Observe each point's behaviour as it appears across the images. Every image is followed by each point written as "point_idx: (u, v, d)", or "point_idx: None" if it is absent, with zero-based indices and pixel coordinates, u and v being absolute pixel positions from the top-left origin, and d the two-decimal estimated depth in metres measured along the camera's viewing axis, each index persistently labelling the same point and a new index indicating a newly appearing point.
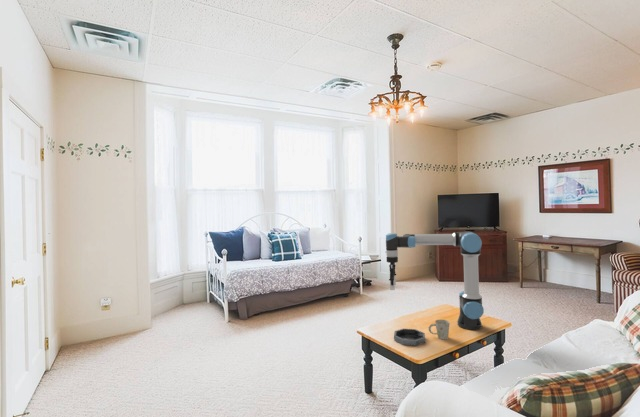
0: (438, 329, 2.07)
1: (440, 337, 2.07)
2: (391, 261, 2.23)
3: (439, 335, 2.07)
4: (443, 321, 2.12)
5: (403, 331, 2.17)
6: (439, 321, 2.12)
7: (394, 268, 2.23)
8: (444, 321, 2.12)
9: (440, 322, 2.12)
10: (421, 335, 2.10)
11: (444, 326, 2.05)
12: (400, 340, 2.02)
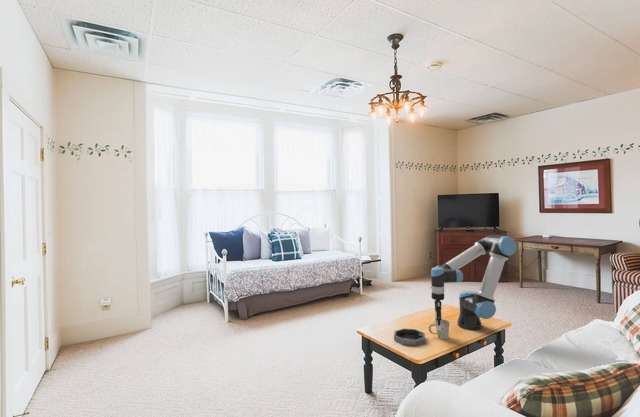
0: None
1: (440, 337, 2.07)
2: (437, 298, 2.05)
3: (439, 335, 2.07)
4: (443, 321, 2.12)
5: (403, 331, 2.17)
6: None
7: None
8: (444, 321, 2.12)
9: None
10: (421, 335, 2.10)
11: (444, 326, 2.05)
12: (400, 340, 2.02)
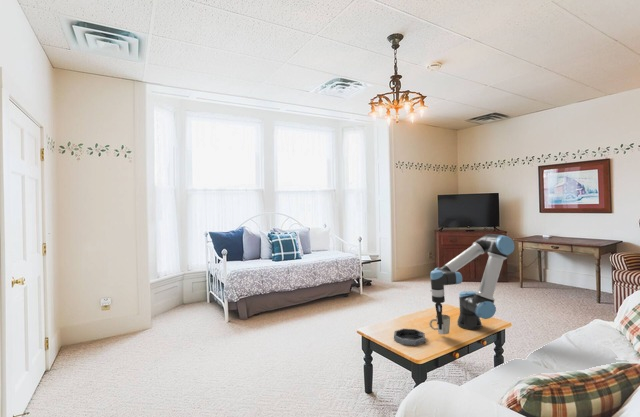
0: None
1: None
2: (438, 301, 2.06)
3: None
4: (444, 316, 2.12)
5: (403, 331, 2.17)
6: None
7: None
8: (445, 316, 2.12)
9: None
10: (421, 335, 2.10)
11: (445, 321, 2.05)
12: (400, 340, 2.02)
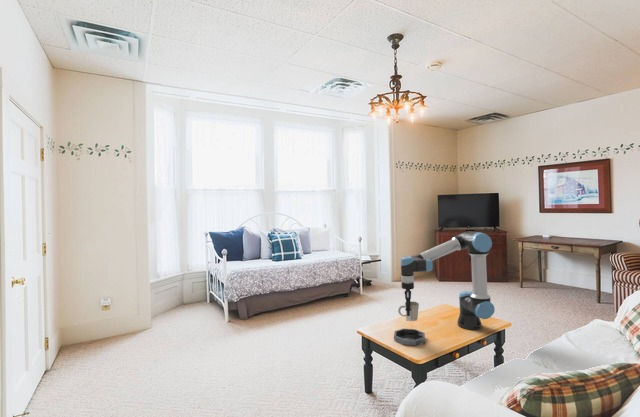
0: None
1: None
2: (407, 288, 2.04)
3: None
4: (413, 303, 2.11)
5: (403, 331, 2.17)
6: None
7: (410, 296, 2.05)
8: (414, 303, 2.11)
9: (410, 304, 2.11)
10: (421, 335, 2.10)
11: (413, 307, 2.04)
12: (400, 340, 2.02)
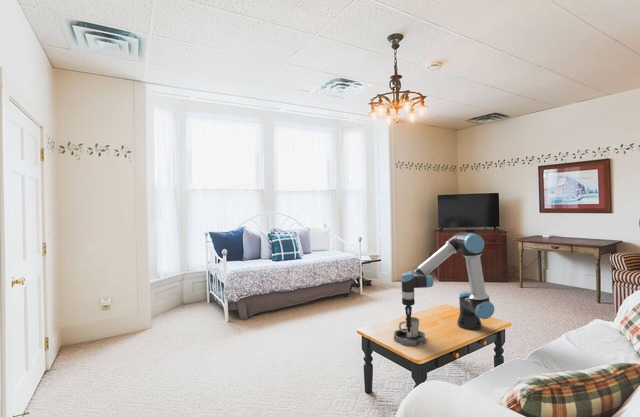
0: None
1: None
2: (407, 304, 2.05)
3: None
4: (413, 319, 2.11)
5: None
6: None
7: None
8: (414, 319, 2.11)
9: None
10: (421, 335, 2.10)
11: (413, 324, 2.04)
12: (400, 340, 2.02)
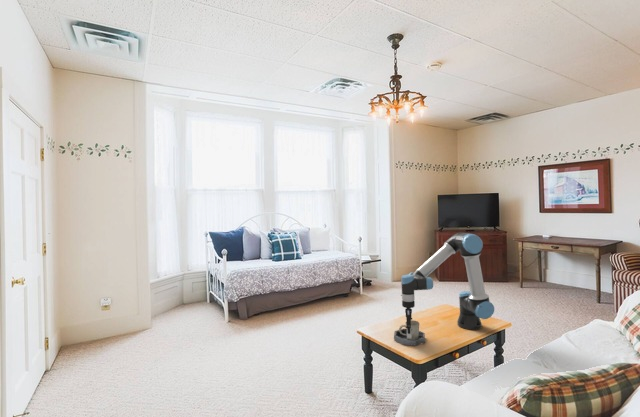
0: None
1: None
2: (407, 306, 2.05)
3: None
4: (414, 322, 2.11)
5: (403, 331, 2.17)
6: None
7: None
8: (415, 322, 2.10)
9: (411, 323, 2.11)
10: (421, 335, 2.10)
11: (414, 327, 2.04)
12: (400, 340, 2.02)
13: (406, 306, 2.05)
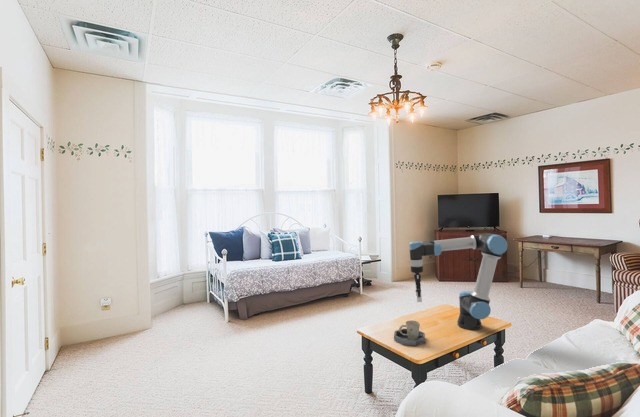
0: (408, 330, 2.06)
1: (410, 338, 2.06)
2: (416, 271, 2.11)
3: (409, 336, 2.06)
4: (414, 322, 2.11)
5: (403, 331, 2.17)
6: (410, 322, 2.11)
7: None
8: (415, 322, 2.11)
9: (411, 323, 2.11)
10: (421, 335, 2.10)
11: (414, 327, 2.04)
12: (400, 340, 2.02)
13: (415, 271, 2.12)
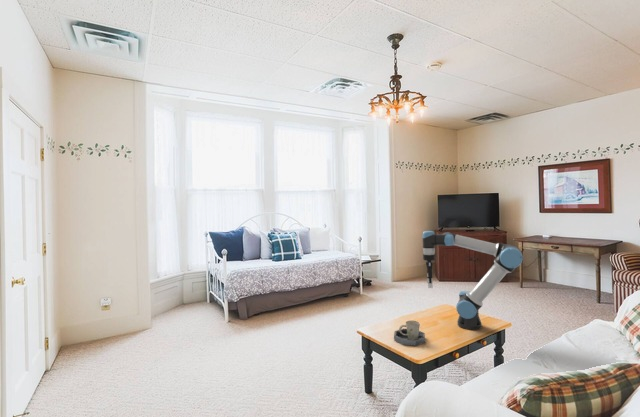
0: (408, 330, 2.06)
1: (410, 338, 2.06)
2: (428, 259, 2.22)
3: (409, 336, 2.06)
4: (414, 322, 2.11)
5: (403, 331, 2.17)
6: (410, 322, 2.11)
7: None
8: (415, 322, 2.11)
9: (411, 323, 2.11)
10: (421, 335, 2.10)
11: (414, 327, 2.04)
12: (400, 340, 2.02)
13: (427, 259, 2.22)
